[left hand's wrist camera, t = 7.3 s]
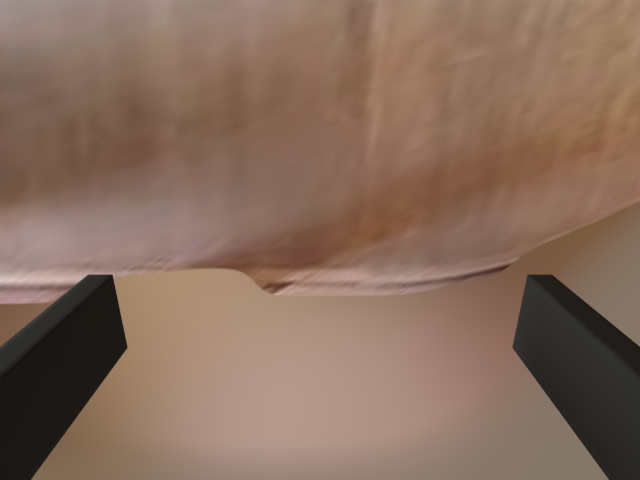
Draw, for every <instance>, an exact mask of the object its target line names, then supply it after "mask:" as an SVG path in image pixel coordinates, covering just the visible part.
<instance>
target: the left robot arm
mask: <svg viewBox="0 0 640 480" xmlns="http://www.w3.org/2000/svg"><path fill="white" fill-rule="evenodd" d="M126 349H127V343H126V338H125V333H124V329H123V324H122V319H121V314H120V309H119V304H118V299H117V295H116V290H115V285H114V280H113V275H87V276H86V277H85V278H84V279H82V280H81V281H80V282H79V283H78V284H76V285H75V286H74V287H73V288H71V289H70V290H69V291H68V292H67V293H65V294H64V295H63V296H62V297H60V298H59V299H58V300H57V301H56V302H54V303H53V304H52V305H51V306H50V307H48V308H47V309H46V310H45V311H43V312H42V313H41V314H40V315H38V316H37V317H36V318H35V319H34V320H32V321H31V322H30V323H29V324H28V325H26V326H25V327H24V328H23V329H21V330H20V331H19V332H18V333H17V334H15V335H14V336H13V337H12V338H11V339H9V340H8V341H7V342H6V343H4V344H3V345H2V346H1V347H0V480H31V479H32V477H33V476H34V475H35V473H36V472H37V471H38V469H39V468H40V466H41V465H42V464H43V462H44V461H45V460H46V458H47V457H48V456H49V454H50V453H51V451H52V450H53V449H54V447H55V446H56V445H57V443H58V442H59V441H60V439H61V438H62V436H63V435H64V434H65V432H66V431H67V430H68V428H69V427H70V425H71V424H72V423H73V421H74V420H75V419H76V417H77V416H78V414H79V413H80V412H81V410H82V409H83V408H84V406H85V405H86V404H87V402H88V401H89V400H90V398H91V397H92V395H93V394H94V393H95V391H96V390H97V389H98V387H99V386H100V385H101V383H102V382H103V380H104V379H105V378H106V376H107V375H108V374H109V372H110V371H111V369H112V368H113V367H114V365H115V364H116V363H117V361H118V360H119V359H120V357H121V356H122V354H123V353H124V352H125V350H126ZM513 349H514V350H515V352H516V353H517V354H518V356H519V357H520V359H521V360H522V361H523V363H524V364H525V365H526V367H527V368H528V369H529V371H530V372H531V374H532V375H533V376H534V378H535V379H536V380H537V382H538V383H539V384H540V386H541V387H542V389H543V390H544V391H545V393H546V394H547V395H548V397H549V398H550V400H551V401H552V402H553V404H554V405H555V406H556V408H557V409H558V410H559V412H560V413H561V415H562V416H563V417H564V419H565V420H566V421H567V423H568V424H569V426H570V427H571V428H572V430H573V431H574V432H575V434H576V435H577V436H578V438H579V439H580V441H581V442H582V443H583V445H584V446H585V447H586V449H587V450H588V451H589V453H590V454H591V456H592V457H593V458H594V460H595V461H596V462H597V464H598V465H599V467H600V468H601V469H602V471H603V472H604V473H605V475H606V476H607V477H608V479H609V480H640V347H639V346H638V345H637V344H636V343H634V342H633V341H632V340H631V339H630V338H628V337H627V336H626V335H625V334H623V333H622V332H621V331H620V330H619V329H617V328H616V327H615V326H614V325H612V324H611V323H610V322H609V321H608V320H606V319H605V318H604V317H603V316H601V315H600V314H599V313H598V312H597V311H595V310H594V309H593V308H592V307H590V306H589V305H588V304H587V303H586V302H584V301H583V300H582V299H581V298H580V297H578V296H577V295H576V294H575V293H573V292H572V291H571V290H570V289H569V288H567V287H566V286H565V285H564V284H562V283H561V282H560V281H559V280H558V279H556V278H555V277H554V276H553V275H527V280H526V285H525V290H524V295H523V299H522V304H521V309H520V314H519V319H518V324H517V328H516V333H515V338H514V343H513Z"/></svg>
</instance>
